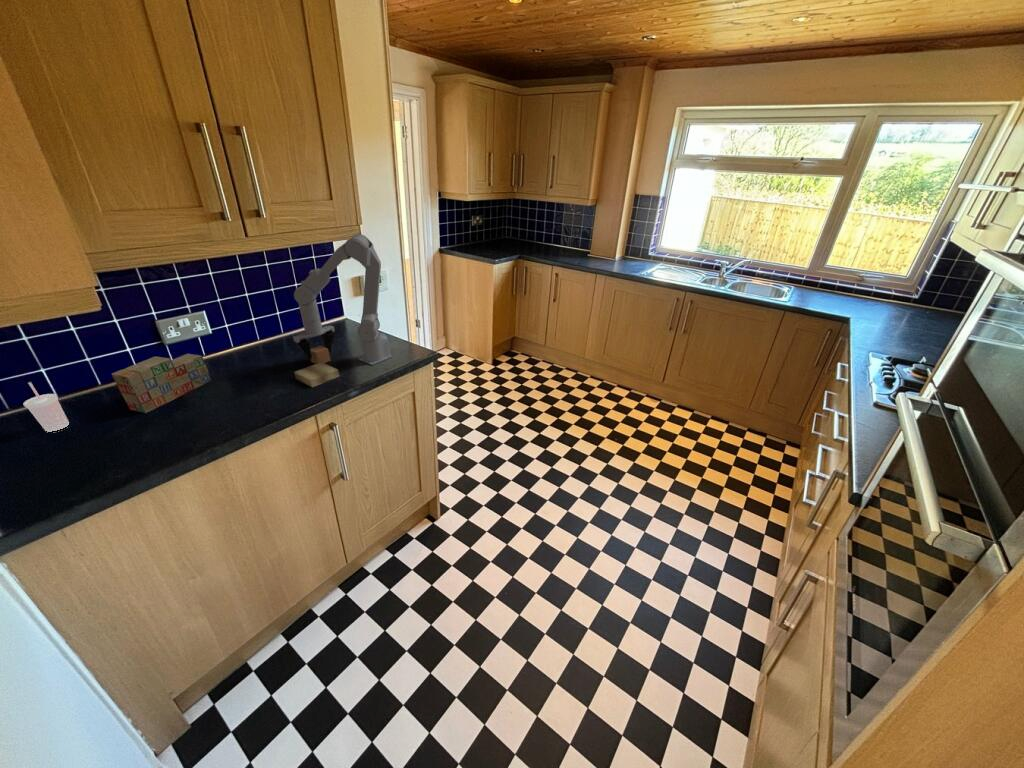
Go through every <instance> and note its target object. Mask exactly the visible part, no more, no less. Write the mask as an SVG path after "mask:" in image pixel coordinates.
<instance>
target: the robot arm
mask: <svg viewBox="0 0 1024 768" xmlns="http://www.w3.org/2000/svg"><path fill="white" fill-rule="evenodd" d="M350 259H353V260H355V261H357V262H358V263H360V264H361V265H362V267H364V269H365V272H364V273H365V274H364V289H363V303H362V304H363V305H362V314H361V319H360V324H359V326H358V327H357V331H356V332H357V335H358V336H359V340H360V344H361V345H360V346H361V351H362V357H359V358H358V360H359V361H361V362H363V363H366V364H368V365H370V366H373V365H376V364H378V363H381V362H383V361H386V360H388V359H391V358H392V357H393V356H392V355H391V348H390V342H389V341H390V340H389V338H388V337H387V335H386V334H385V333H384V332H383V333H382V332H381V333H380V332H379V329H380V327H381V324H380V320H379V314H378V306H379V294H380V293H379V292H380V282H381V269H382V262H381V260H380V257H379V255H378V253H377V251H376V250H375V247H374V244H373V242H372V241H371V240H370V239H369V238H368V237H367V236H366V235H364V234H360V233H356V234H354V235H352V237H351V238H348V239H347V240H346V242H344V243H343V244H341V246H339V247H338V248H336V249H335V251H334V252H333V254H332V255H330V257H329V258H328V260H327V261H326V262H325V263H324V264H323V266H322V267H321V268H314V269H311V270H309V272H308V274H309V275H307V277H306V278H305V279H304V280H302V281H301V282H300V286H299V287H297V288H295V291H294V293H293V298H294V300H295V301H296V302H297V303H298V307H299V313H300V315H301V320H302V325H303V328H304V331H303V332H301V333H298V334H296V335H293V336H292V339H293V342H294V343H296V344H298V346H299V347H300V348H301V349H302V350H303V351H302V352H304V354H305V356H306V358H307V359H309V360H311V359H312V355H311V351H310V349H311V342H309V341H308V339H311V338H315V337H318V336H321V337H322V340H323V343H324V347H325V348H328V351H329V353H331V352H332V345H333V342H334V341H333V340H334V337H335V333H334V332H335V331H336V330H335V326H333V325H326V326H322V321H321V316H320V312H319V307H318V303H317V297H318V295H319V294H320V293H321V291H322V290H323V289H324V288H325V287H326V286H327V285H328V284H329V283H330V282H331V278H330V277H331V276H330V275H331V274H332V272H334V271H335V270H336V268H337V267H338V266H340V264H341V263H343V261H346V260H350Z"/></svg>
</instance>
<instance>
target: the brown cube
mask: <svg viewBox="0 0 1024 768" xmlns="http://www.w3.org/2000/svg"><path fill="white" fill-rule="evenodd" d="M310 351H311V355H312V359H310V361H311V363H313V364H314V365H315V364H318V363H320V362H322V363H325V364H327V363H328V361H329V362H331V356H330V352H329V351H328V348H325V346H323V345H318V346H315V347H312V348H311V347H310Z"/></svg>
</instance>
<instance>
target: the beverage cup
mask: <svg viewBox="0 0 1024 768" xmlns="http://www.w3.org/2000/svg"><path fill="white" fill-rule="evenodd" d="M27 384H28V385H29V387H30V388H31V390H32V391H33V393H34V394H35V396H34V397H31V398H29V399H27V400H25V401H24V402H23V404H22V405H23V406H24V407H25V408H27V409H28V410H29V412H30V413H31V415H33V417H34V418H35V419H36V421H37V422H38V423H39V424H40V425H41V427H42V429H43V430H44V431H45V432H46V431H47V432H46V433H48V432H52V431H57V430H60V429H63V428H65V427H67V426H68V425H69V423H70V422H69V419H68V417H67V415H66V414H65V411H64V410H63V408H62V405H61V403H60V402H59V397H58V395H57V394H55V393H46V394H41V395H40V394H39V393H38V391H37V390H36V388H35V387H34V385H33V383H32V381H29V382H27ZM67 428H68V427H67Z"/></svg>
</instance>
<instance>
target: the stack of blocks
mask: <svg viewBox="0 0 1024 768" xmlns="http://www.w3.org/2000/svg"><path fill="white" fill-rule="evenodd" d="M111 376H112V378H113V380H114V381H115V383H116V384H115V385H116V386H117V389H118V391H119V392H120V394H121V395H122V396H123V397H122V398H123V399H124V400H125V403H126V405H127V406H128V409H129V410H130V411H133V410H134V412H139V413H142V414H147V413H148V412H149V413H150V412H151V411H153V410H155V409H157V408H159V407H162V406H164V405H166V404H169V403H170V402H171V401H173V400H175V399H177V398H179V397H181V396H184V395H186V394H188V393H189V392H192V391H194V390H196V389H197V388H199V387H201V386H204V385H206V384H208V383H210V382H212V381H213V379H212V377H211V375H210V372H209V370H208V366H207V364H206V362H205V360H204V358H203V355H199V354H192V353H186V354H183V355H180V356H178V357H175V358H173V359H171V358H168V357H162V356H152V357H150V358H148V359H146V360H142V361H141V362H140V361H139V362H138V363H135V364H133V365H130V366H128V367H125V368H124V369H120V370H118V371H115V372H113V373H111Z"/></svg>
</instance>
